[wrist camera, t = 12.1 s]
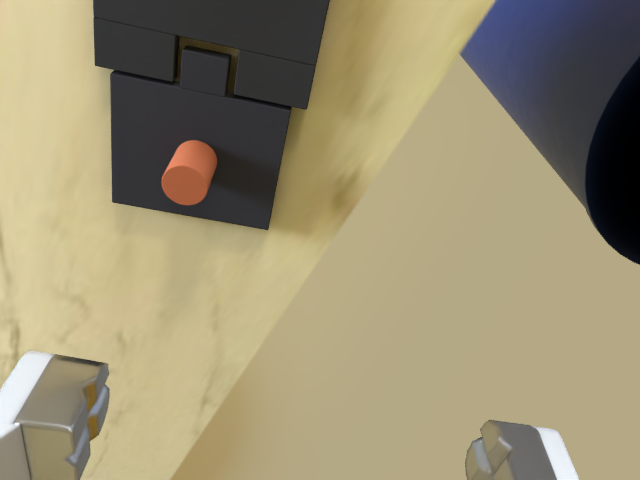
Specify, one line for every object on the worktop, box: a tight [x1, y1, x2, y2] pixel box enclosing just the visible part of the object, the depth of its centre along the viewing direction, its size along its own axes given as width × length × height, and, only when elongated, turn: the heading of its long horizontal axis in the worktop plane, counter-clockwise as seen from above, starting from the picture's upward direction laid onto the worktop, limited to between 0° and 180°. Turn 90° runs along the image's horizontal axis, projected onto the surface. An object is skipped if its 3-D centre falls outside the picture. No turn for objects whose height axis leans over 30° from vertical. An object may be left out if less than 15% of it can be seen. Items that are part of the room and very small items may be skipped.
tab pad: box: [110, 45, 291, 230], centre depth 35 cm, size 12×12×5 cm
